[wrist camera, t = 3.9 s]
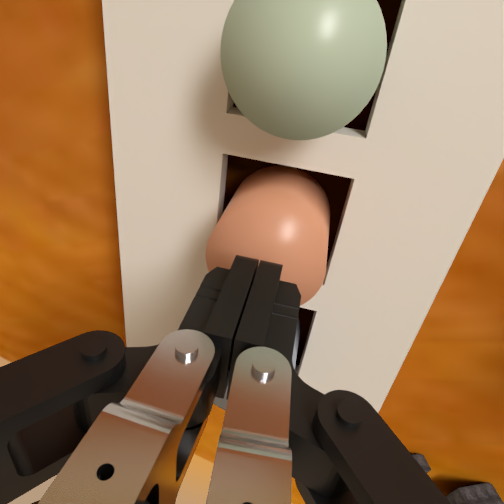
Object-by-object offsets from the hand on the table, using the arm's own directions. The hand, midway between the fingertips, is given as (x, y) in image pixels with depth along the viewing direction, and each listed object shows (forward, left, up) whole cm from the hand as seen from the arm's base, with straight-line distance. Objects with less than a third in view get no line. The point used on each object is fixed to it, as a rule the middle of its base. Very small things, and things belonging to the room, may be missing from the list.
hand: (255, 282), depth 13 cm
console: (0, 0, -7) cm, 7 cm away
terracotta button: (0, 0, -5) cm, 5 cm away
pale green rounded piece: (0, -6, -5) cm, 8 cm away
